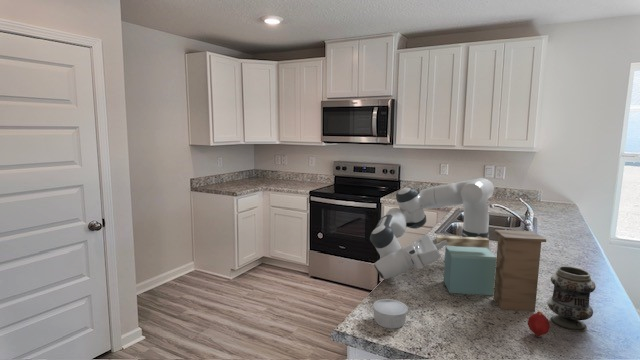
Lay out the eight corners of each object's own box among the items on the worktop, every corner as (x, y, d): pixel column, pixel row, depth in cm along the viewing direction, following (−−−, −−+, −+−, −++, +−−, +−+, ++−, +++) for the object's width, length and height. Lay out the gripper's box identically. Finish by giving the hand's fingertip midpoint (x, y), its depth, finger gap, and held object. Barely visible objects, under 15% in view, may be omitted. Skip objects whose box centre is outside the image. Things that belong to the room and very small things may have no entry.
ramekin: (394, 310, 125) (395, 296, 124) (414, 327, 114) (415, 311, 114) (365, 316, 121) (366, 301, 120) (383, 334, 110) (384, 317, 110)
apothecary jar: (593, 323, 118) (599, 270, 115) (588, 338, 109) (595, 281, 106) (549, 310, 126) (554, 260, 123) (542, 324, 117) (547, 270, 114)
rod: (437, 245, 141) (437, 237, 141) (435, 242, 144) (436, 235, 144) (488, 247, 139) (489, 240, 138) (486, 245, 142) (486, 237, 141)
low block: (443, 281, 150) (445, 245, 148) (484, 283, 148) (486, 247, 146) (449, 292, 139) (451, 254, 137) (493, 295, 137) (496, 257, 135)
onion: (528, 328, 114) (530, 304, 113) (550, 335, 110) (552, 310, 109) (525, 336, 110) (527, 311, 108) (547, 343, 106) (550, 318, 105)
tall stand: (489, 297, 135) (494, 229, 132) (526, 299, 134) (532, 231, 130) (499, 310, 125) (504, 237, 122) (539, 313, 124) (546, 239, 120)
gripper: (414, 253, 155) (444, 238, 152) (420, 271, 135) (455, 255, 132) (406, 240, 155) (436, 225, 152) (412, 256, 134) (447, 240, 132)
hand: (445, 239), depth 142 cm, fingers closed on rod, 3 cm apart
